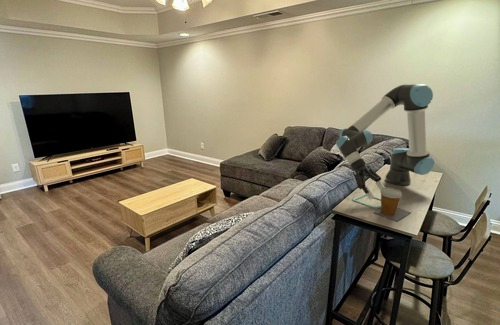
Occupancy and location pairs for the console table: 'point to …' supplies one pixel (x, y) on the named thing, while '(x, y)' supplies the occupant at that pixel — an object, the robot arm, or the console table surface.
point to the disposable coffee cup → (389, 200)
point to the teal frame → (365, 203)
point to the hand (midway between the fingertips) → (378, 195)
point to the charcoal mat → (398, 215)
